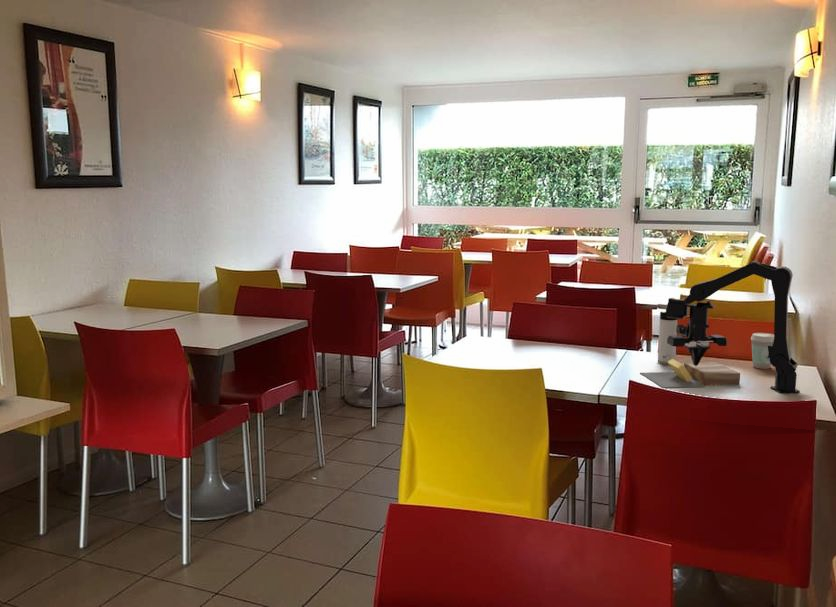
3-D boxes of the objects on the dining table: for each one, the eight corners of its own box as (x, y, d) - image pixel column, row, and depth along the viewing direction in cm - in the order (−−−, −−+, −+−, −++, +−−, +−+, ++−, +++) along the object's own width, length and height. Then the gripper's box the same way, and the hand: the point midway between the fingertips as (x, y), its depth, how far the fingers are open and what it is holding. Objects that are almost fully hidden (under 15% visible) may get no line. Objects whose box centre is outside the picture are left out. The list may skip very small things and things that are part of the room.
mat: (704, 387, 244) (704, 386, 244) (662, 388, 243) (663, 387, 242) (678, 372, 263) (678, 371, 263) (640, 373, 262) (640, 372, 262)
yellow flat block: (683, 364, 248) (678, 368, 248) (692, 378, 249) (687, 382, 249) (672, 358, 257) (667, 362, 257) (681, 372, 258) (676, 375, 258)
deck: (739, 384, 247) (740, 373, 246) (704, 385, 246) (705, 373, 245) (716, 373, 262) (717, 362, 262) (683, 374, 261) (684, 362, 261)
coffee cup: (758, 370, 267) (760, 337, 265) (743, 364, 275) (745, 333, 273) (779, 369, 269) (782, 336, 267) (764, 363, 277) (766, 332, 275)
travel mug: (665, 365, 274) (668, 312, 271) (654, 361, 280) (656, 309, 277) (679, 364, 276) (682, 311, 273) (667, 360, 282) (669, 308, 279)
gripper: (713, 316, 259) (711, 359, 262) (661, 316, 258) (659, 360, 260) (729, 321, 248) (726, 367, 251) (675, 322, 247) (672, 368, 249)
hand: (695, 365), depth 253 cm, fingers closed
